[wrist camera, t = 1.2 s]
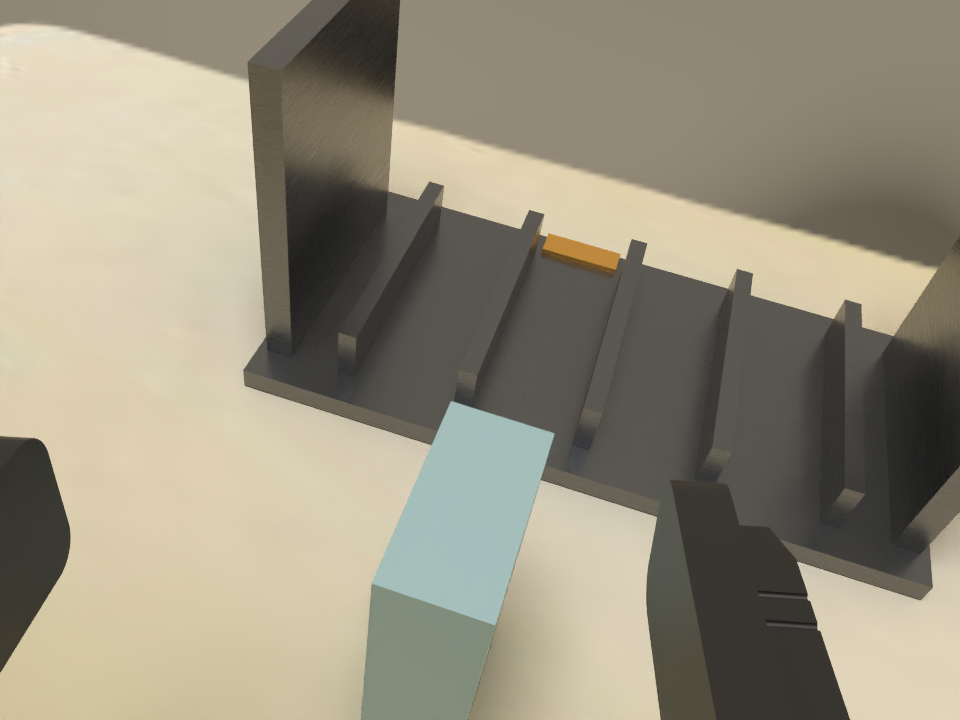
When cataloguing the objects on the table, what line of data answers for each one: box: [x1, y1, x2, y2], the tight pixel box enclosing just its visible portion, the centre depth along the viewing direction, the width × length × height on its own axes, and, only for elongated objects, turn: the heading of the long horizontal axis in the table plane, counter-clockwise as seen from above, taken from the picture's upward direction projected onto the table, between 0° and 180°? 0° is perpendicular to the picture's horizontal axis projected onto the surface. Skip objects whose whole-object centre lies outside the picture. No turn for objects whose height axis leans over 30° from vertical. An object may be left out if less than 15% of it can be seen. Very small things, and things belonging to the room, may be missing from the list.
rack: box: [243, 0, 960, 600], centre depth 38 cm, size 30×15×15 cm, turn 73°
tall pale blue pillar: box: [361, 401, 555, 720], centre depth 27 cm, size 3×6×12 cm, turn 163°
